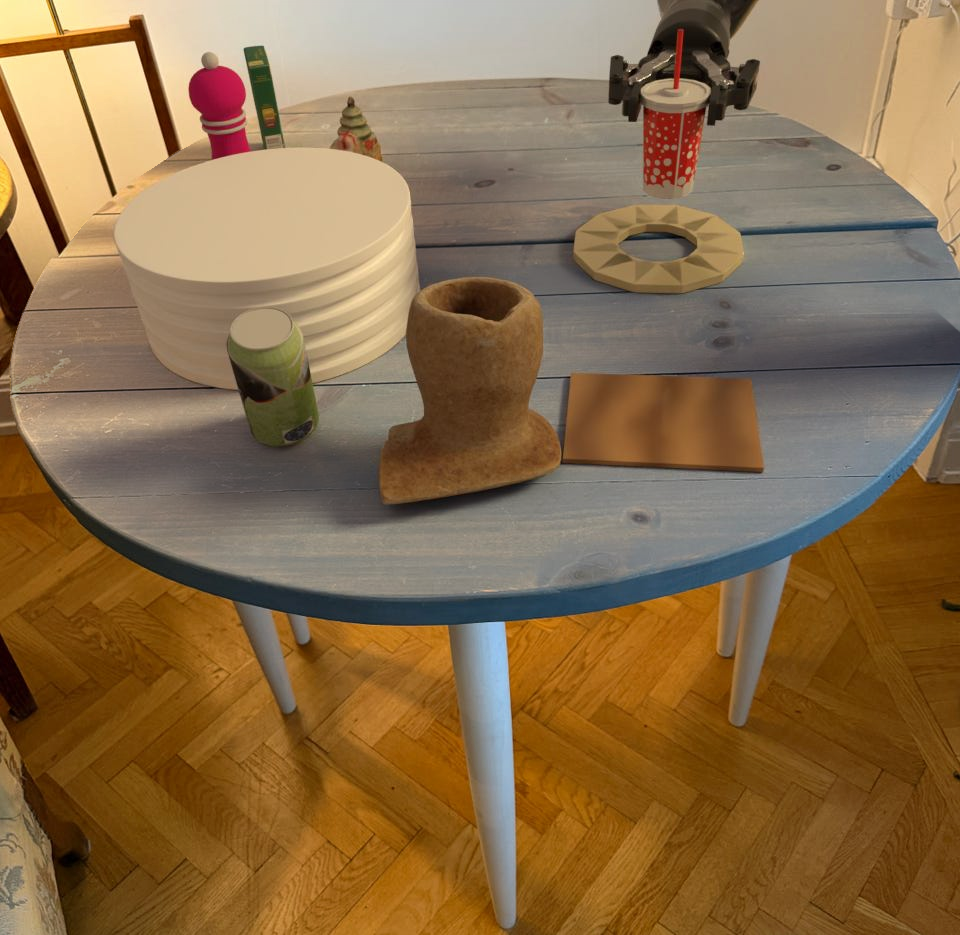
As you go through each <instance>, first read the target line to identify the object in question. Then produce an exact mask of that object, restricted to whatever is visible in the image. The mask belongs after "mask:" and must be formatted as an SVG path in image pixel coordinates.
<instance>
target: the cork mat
mask: <svg viewBox="0 0 960 935" xmlns="http://www.w3.org/2000/svg"><path fill="white" fill-rule="evenodd" d="M569 378H570V380H569V388H568V400H567V408H566V410H567V411H566V420H565V428H564V429H565V430H564V440H563V453H562V463H563V464H579V465H581V464H582V465H584V464H585V465H604V466H623V467H644V468H645V467H646V468H665V469H666V468H667V469H687V470H707V471H708V470H709V471H731V472H749V473H750V472H751V473H764V470H765V465H764V464H765V463H764V458H763V451H762V444H761V437H760V430H759V424H758V416H757V410H756V409H757V408H756V402H755V397H754V396H755V395H754V390H753V388H754V387H753V380H752V379H751V378H742V377H741V378H738V377H711V376H709V377H708V376H707V377H705V376H681V375H680V376H679V375H650V374H648V375H647V374H625V373H624V374H619V373H592V372H591V373H589V372H571V373H570V377H569Z"/></svg>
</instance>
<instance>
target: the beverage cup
mask: <svg viewBox="0 0 960 935" xmlns="http://www.w3.org/2000/svg"><path fill="white" fill-rule="evenodd" d="M682 42H683V29H678V34H677V47H676V59H675V72H674V79H663V80H656V81H653V82H651V83H648V84H646V85H645V86H643V87H642V88H641V104H642V111H643V113H642V114H643V115H642V116H643V117H642V118H643V119H642V120H643V121H642V122H643V123H642V125H643V126H642V128H643V129H642V130H643V131H642V134H643V136H642V137H643V139H642V140H643V141H642V142H643V146H642V148H643V149H642V150H643V154H642V157H643V158H642V159H643V160H642V161H643V162H642V163H643V165H642V169H643V171H642V173H643V175H642V177H643V182H642V183H643V185H642V186H643V188H642V189H643V190H642V191H644V192H645V194H646V195H647V196H651V197H652V198H656V199H662V200H675V199H680V198H684V197H686V196H689V195H690V194H691V193H692V192H693V190H694V184H695V179H696V172H697V166H698V161H699V155H700V154H699V153H700V147H701V142H702V135H703V129H704V124H705V118H706V112H707V107H706V106H707V105H708V104H709V101H710V95H711V88H710V87H709V86H707V85H706V84H705V83H702V82H699V81H696V80H690V79H682V78H680V66H681V54H682Z"/></svg>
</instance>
